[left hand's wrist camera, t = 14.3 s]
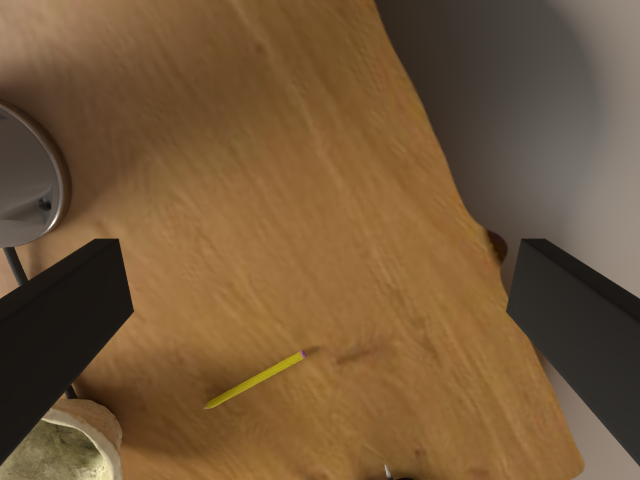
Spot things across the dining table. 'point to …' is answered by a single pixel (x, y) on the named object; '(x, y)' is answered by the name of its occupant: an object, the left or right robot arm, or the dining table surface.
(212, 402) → the pencil
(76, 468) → the bowl
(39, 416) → the left robot arm
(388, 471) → the toy
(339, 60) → the dining table surface
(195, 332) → the dining table surface
